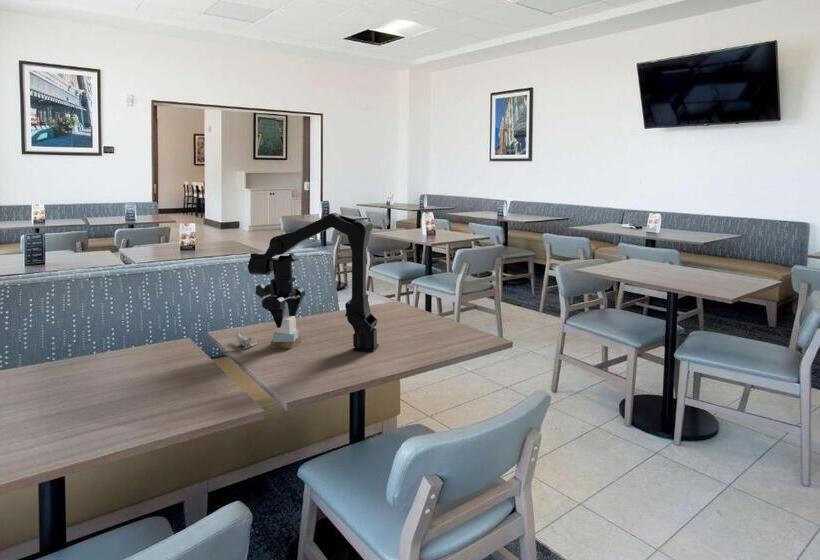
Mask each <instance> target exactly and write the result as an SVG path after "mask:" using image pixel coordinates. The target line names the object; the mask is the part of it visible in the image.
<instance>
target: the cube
mask: <svg viewBox="0 0 820 560" xmlns="http://www.w3.org/2000/svg"><path fill="white" fill-rule="evenodd" d="M296 319H297V318H296V316H289V315H284V317H283V321H282V325H281V327H280V328H277V326H276V325H275V326H276V327H275V328H276V329H275V330H277V333H286V334H290V333H292V332H293V331H295V330H296V329H297V324H296V321H297V320H296Z"/></svg>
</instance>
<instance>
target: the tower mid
mask: <svg viewBox="0 0 820 560" xmlns="http://www.w3.org/2000/svg"><path fill="white" fill-rule="evenodd" d="M298 336H299V328H296V330H295V331H293V332H292V333H290V334H286V333H277V329H275V331H274V333H273V334H272V338H273V339H272V340H273V342H294V341H295V340H296V339H297V337H298Z"/></svg>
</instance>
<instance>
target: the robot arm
mask: <svg viewBox="0 0 820 560" xmlns="http://www.w3.org/2000/svg"><path fill="white" fill-rule="evenodd" d="M331 228H332V229H335V230H337V231H338V232H340V233H342V234H344V235H347V241H348V245H349V247H350V250H351V298H350V299H349V300H348V301H346V303H345V315H344V317H346V321H347V322H348V323H349V324H350V326H352V329H353V331H354V333H353V334H352V343H353V348H352V351H355V352H357V351H358V352H371V353H372V352H374V351H375V350H377V348H378V347H379V346H380V345H379V344H378V332H377V331H378V330H377V328H376V326H377V324H378V318H377V317H375V316H374V314H372V312H371V307H370V302H369V300H368V297H367V283H366V282H367V248H368V245H369V241H370V238H371V231H372V228H371V225H370V224H369V222H368V221H367V220H365V219H358V220H357V219H354V218H350V217H347V216H344V215H342V214H339V213H337V212H332V213H330V214H329V213H328V214H327V215H325V216H324V217H322V218H320V219H318V220H315V221H314V222H311V223H310V224H308V225H305V226H303V227H301V228H298V229H297V230H295V231H290V232H286V233H282V234H279V235H275V236H274V237H272V238H270V240H269V245H268V246H269V247H268V248H267V249H266V251H265V253H258V252H252V253H250V258H249V260H248V264H247V270H248V273H249V274H250V275H257V276H263V275H264V276H270V274H271V273H273V278H272V279H270V283H269V284H266V285H264V284H263V283H260V284H258V285H256V286H255V295H256V296H259V298H260V299H262V300H261V308H264V310H266V311H268V312H270V314H271V316H272V318H273V321H274V323H275V326H277V328H280V327H281V325H282V321H283V317H284V316H285V312H286V308H287V309H288V314H289V315H288V316H295V317H296V315H297V313H298V310H299V308H300V306H301V303H302V301H303V300H304V297H305V296H306V289H304V287H303V286H294V282H295V281H296V276H295V277H294V276H293V262H297V261H298V260H299V257H297V256H296V255H295V254H294V253H293V252H291V253H289V252H290V251H292V250H293V249H295V248H296V247H298V245H300V244H302V242H304V241H305V240H307V239H310V238H312V237H315V236H316V235H319V234H320V233H323V232H326V231H327V230H329V229H331ZM286 253H289V254H288V255H284V254H286ZM277 256H279V257H277ZM275 257H276V258H275ZM286 304H287V307H286Z"/></svg>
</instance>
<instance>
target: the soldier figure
mask: <svg viewBox="0 0 820 560" xmlns="http://www.w3.org/2000/svg"><path fill="white" fill-rule="evenodd" d="M240 331H241V328H239V327H238V328H237V332H236V334H235V335H234V338H237V342H238V345H240V346H241V345H242V346H241V347H245V346H246V347H247V348H253V347H255V346H256V345H257V344H258V342H257V341H255V342H254V343H251V341H252V337H249V338H247V337H246V336H245V335H244V336H242V334H241V333H240ZM254 345H255V346H254ZM252 346H253V347H252Z"/></svg>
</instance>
